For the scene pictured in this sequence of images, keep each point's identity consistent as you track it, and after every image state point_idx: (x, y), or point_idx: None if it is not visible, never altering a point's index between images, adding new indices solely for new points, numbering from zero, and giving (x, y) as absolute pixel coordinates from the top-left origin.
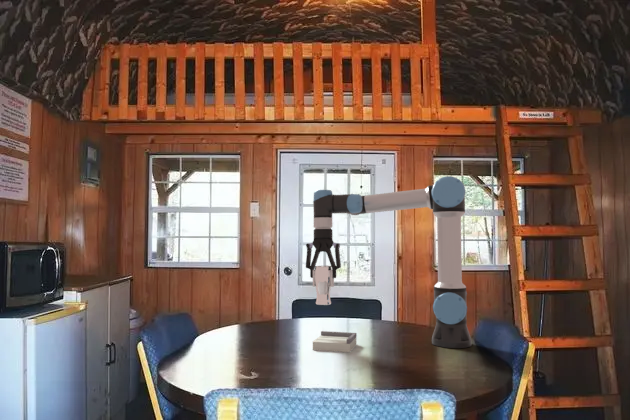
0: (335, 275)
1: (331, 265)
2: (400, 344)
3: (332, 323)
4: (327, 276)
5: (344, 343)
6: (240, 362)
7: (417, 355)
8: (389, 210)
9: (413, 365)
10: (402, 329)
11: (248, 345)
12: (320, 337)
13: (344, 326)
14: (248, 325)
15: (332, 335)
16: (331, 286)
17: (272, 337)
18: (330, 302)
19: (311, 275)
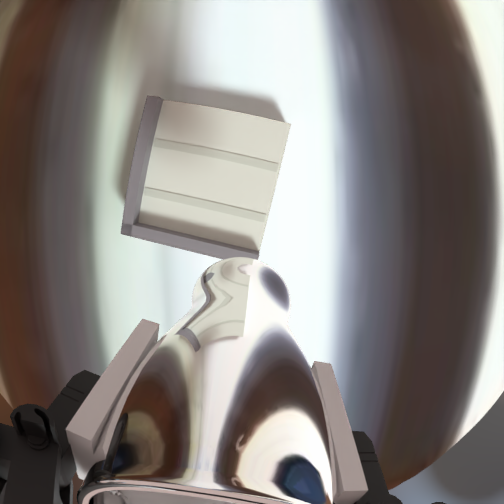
0: (66, 386)
1: (47, 489)
2: (31, 238)
3: None
4: (152, 365)
5: (170, 102)
6: (455, 10)
7: (12, 110)
8: None
9: (44, 16)
10: None
11: (478, 202)
12: (261, 208)
13: None
14: (437, 445)
15: (213, 240)
16: (149, 323)
17: (415, 324)
18: (193, 292)
19: (362, 450)
